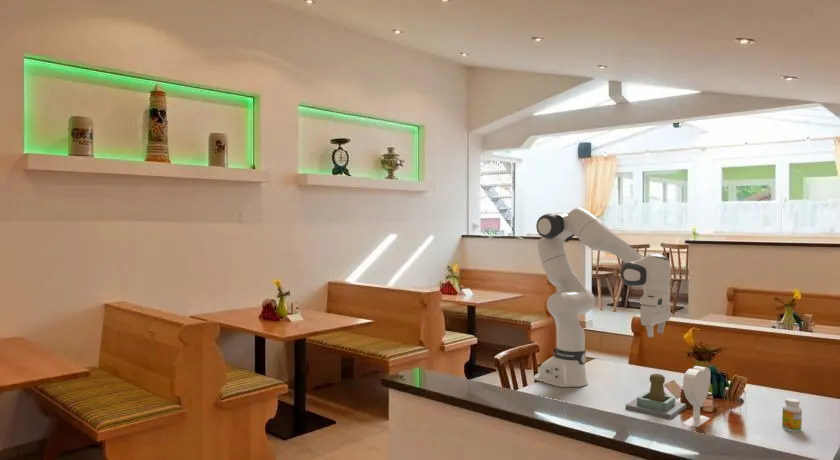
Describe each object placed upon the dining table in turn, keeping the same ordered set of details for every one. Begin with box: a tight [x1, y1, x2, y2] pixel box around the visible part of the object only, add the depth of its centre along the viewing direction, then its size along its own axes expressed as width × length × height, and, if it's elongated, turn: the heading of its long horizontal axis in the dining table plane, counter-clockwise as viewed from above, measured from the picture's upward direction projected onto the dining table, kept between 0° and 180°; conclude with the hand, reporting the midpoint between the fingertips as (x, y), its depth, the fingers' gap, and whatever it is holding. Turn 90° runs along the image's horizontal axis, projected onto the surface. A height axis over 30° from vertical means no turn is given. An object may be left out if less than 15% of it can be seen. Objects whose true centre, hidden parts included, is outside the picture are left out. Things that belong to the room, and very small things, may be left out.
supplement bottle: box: [781, 397, 803, 432], centre depth 197 cm, size 5×5×10 cm
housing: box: [625, 391, 687, 420], centre depth 217 cm, size 16×16×4 cm
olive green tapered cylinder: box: [649, 373, 666, 402], centre depth 217 cm, size 6×6×11 cm
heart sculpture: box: [682, 365, 712, 428], centre depth 204 cm, size 16×5×18 cm, turn 136°
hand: (655, 334), depth 222 cm, fingers open, 8 cm apart
